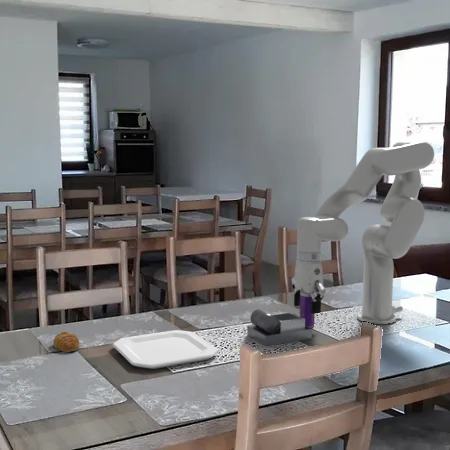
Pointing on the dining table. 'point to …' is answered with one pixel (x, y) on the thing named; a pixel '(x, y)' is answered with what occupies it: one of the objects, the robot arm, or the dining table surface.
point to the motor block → (277, 328)
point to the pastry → (66, 342)
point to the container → (306, 308)
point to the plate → (164, 349)
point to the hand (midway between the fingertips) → (307, 309)
